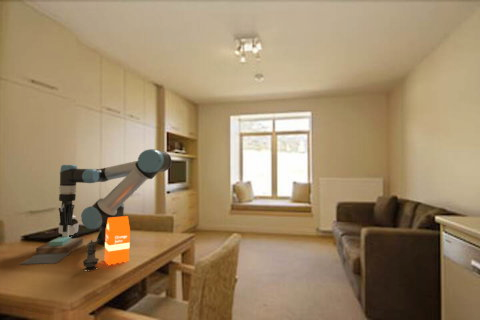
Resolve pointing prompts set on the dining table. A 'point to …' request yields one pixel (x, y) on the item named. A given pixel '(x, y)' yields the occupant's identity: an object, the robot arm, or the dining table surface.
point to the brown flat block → (60, 247)
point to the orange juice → (117, 240)
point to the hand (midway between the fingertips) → (65, 237)
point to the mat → (45, 258)
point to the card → (60, 241)
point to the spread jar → (70, 227)
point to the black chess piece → (90, 257)
